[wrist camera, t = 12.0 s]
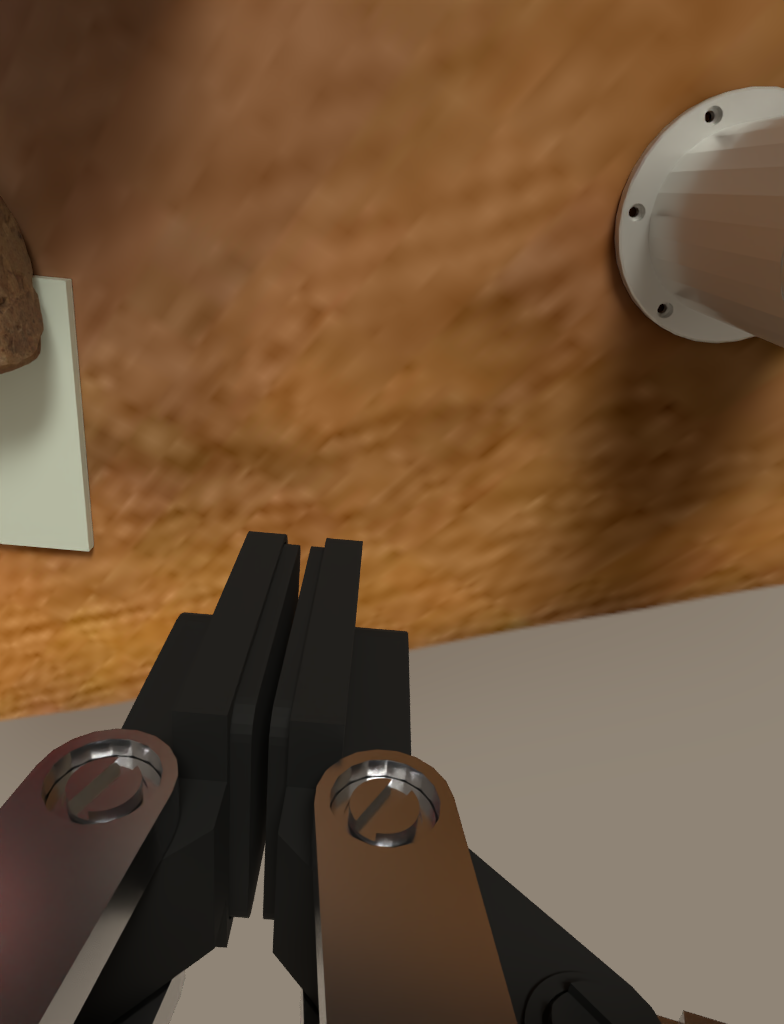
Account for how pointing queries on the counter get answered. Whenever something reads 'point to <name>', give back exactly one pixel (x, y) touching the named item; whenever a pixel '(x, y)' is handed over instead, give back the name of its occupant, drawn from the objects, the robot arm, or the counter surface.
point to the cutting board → (46, 436)
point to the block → (17, 299)
